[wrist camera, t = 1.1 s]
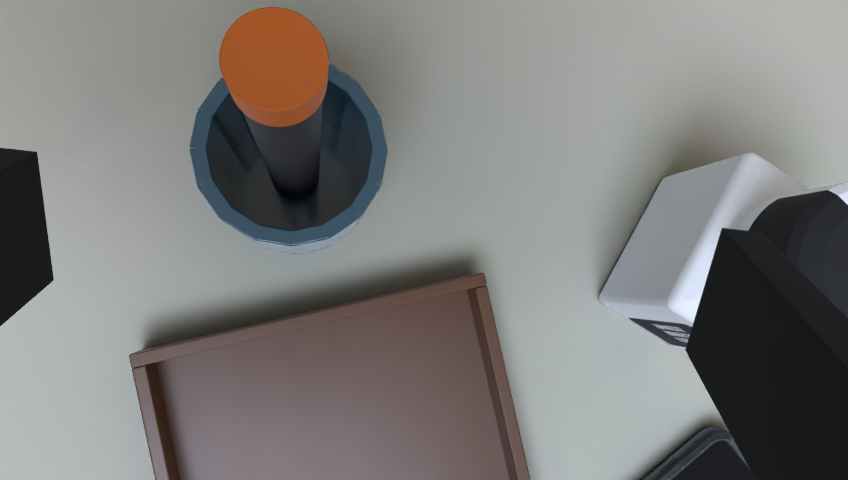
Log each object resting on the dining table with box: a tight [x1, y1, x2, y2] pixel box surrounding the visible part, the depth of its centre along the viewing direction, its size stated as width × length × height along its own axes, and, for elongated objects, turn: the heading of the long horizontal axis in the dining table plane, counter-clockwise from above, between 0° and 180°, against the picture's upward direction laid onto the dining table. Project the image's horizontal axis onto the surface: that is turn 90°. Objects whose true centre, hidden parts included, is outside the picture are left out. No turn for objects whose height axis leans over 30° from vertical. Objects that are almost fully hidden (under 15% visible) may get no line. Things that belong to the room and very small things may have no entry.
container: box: [599, 152, 848, 357], centre depth 31 cm, size 8×8×13 cm
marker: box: [219, 7, 329, 200], centre depth 24 cm, size 2×2×18 cm
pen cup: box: [190, 64, 387, 254], centre depth 30 cm, size 7×7×8 cm
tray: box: [129, 273, 530, 480], centre depth 33 cm, size 12×16×2 cm
